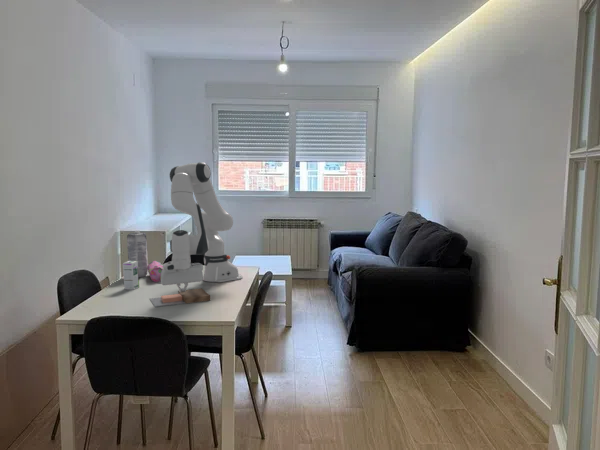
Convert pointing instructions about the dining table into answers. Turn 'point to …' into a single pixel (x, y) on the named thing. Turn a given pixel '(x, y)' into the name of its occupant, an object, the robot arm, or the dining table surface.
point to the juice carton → (138, 251)
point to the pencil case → (155, 271)
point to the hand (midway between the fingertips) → (182, 292)
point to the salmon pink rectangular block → (171, 298)
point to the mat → (158, 303)
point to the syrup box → (131, 275)
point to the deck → (194, 295)
